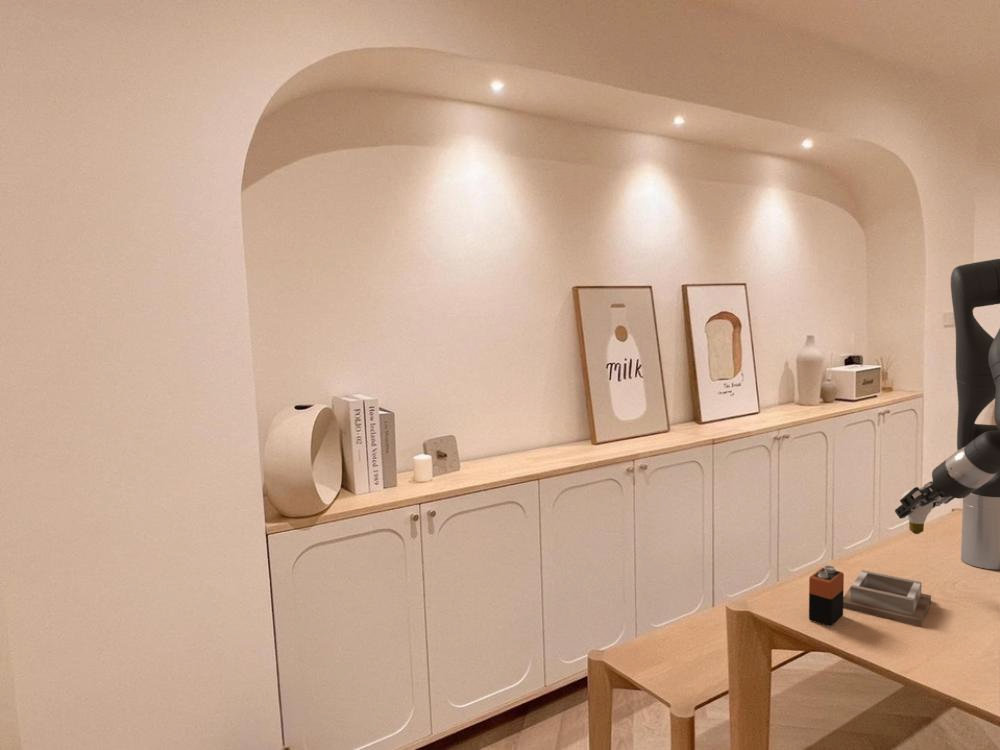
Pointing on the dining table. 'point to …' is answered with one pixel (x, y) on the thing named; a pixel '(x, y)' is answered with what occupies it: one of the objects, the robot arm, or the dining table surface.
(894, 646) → the dining table surface
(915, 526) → the light bulb
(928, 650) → the dining table surface
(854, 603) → the frame
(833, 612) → the battery
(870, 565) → the dining table surface
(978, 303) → the robot arm
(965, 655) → the dining table surface
